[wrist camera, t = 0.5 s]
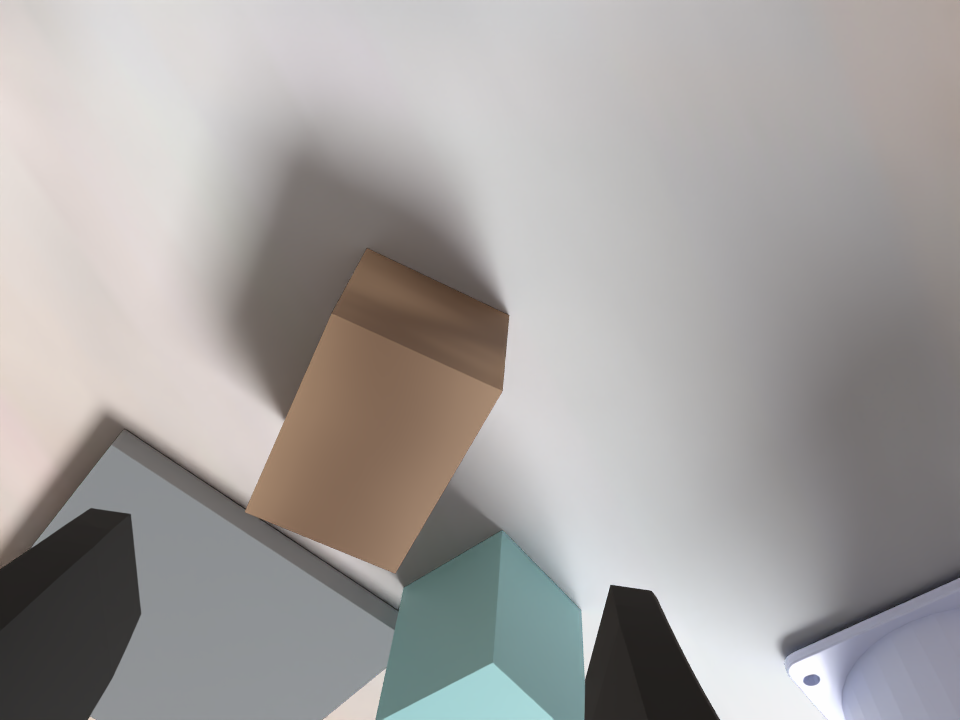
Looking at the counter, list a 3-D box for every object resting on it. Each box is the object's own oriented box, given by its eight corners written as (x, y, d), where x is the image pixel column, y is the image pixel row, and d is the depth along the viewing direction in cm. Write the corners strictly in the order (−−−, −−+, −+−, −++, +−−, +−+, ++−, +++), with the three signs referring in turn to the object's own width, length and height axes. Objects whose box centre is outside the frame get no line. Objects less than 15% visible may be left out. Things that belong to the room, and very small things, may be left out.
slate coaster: (418, 624, 26) (415, 643, 26) (238, 774, 31) (231, 794, 30) (124, 429, 24) (111, 444, 23) (-29, 624, 28) (-44, 642, 27)
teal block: (580, 609, 26) (588, 751, 21) (482, 660, 27) (471, 802, 23) (502, 529, 24) (492, 662, 20) (403, 586, 26) (374, 723, 21)
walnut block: (509, 313, 21) (502, 391, 18) (417, 477, 24) (395, 573, 20) (368, 246, 21) (331, 313, 17) (289, 422, 23) (244, 512, 20)
